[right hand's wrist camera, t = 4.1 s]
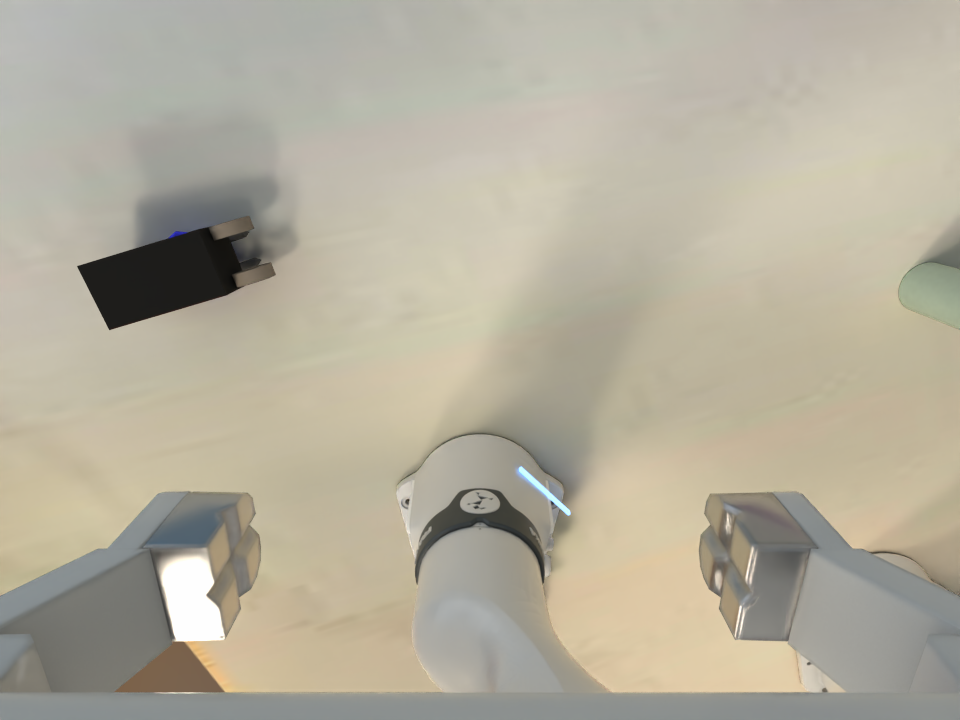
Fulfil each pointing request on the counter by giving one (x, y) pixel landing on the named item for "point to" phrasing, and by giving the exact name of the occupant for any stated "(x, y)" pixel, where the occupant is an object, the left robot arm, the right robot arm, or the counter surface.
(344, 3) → the counter surface
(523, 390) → the counter surface
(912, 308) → the jar
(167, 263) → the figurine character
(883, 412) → the counter surface
